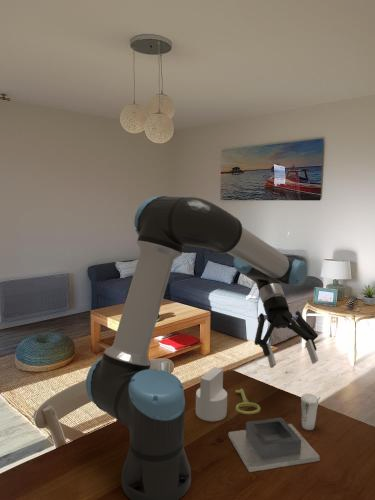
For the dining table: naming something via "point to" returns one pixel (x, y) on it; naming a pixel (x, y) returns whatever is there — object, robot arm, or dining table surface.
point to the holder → (271, 445)
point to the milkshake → (309, 410)
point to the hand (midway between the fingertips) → (294, 364)
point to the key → (246, 404)
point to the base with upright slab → (211, 396)
